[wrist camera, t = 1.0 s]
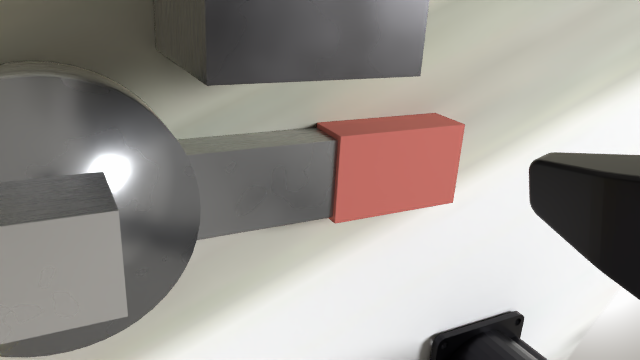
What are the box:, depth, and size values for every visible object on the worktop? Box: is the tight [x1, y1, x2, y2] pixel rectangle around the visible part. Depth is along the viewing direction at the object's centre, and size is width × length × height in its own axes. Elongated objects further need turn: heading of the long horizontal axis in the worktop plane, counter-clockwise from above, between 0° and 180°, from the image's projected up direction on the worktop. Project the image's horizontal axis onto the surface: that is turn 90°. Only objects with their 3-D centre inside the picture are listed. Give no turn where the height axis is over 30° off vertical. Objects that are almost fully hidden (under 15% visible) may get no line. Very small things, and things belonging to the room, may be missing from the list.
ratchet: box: [0, 61, 465, 357], centre depth 18 cm, size 20×9×6 cm, turn 87°
